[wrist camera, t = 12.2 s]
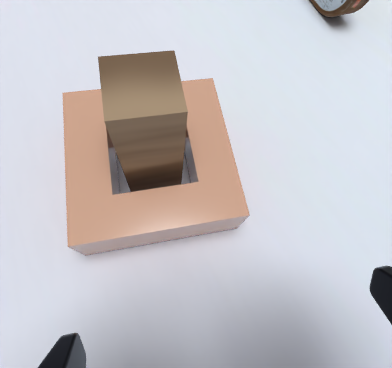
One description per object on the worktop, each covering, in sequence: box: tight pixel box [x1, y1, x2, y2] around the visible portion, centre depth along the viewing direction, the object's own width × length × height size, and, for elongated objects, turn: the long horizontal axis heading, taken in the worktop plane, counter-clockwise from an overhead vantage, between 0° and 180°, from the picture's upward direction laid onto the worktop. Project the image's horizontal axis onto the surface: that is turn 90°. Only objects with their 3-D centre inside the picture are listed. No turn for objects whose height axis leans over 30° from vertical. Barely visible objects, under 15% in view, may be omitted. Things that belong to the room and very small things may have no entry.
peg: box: [98, 51, 188, 192], centre depth 19 cm, size 4×4×11 cm
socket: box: [63, 78, 249, 255], centre depth 23 cm, size 12×12×4 cm
